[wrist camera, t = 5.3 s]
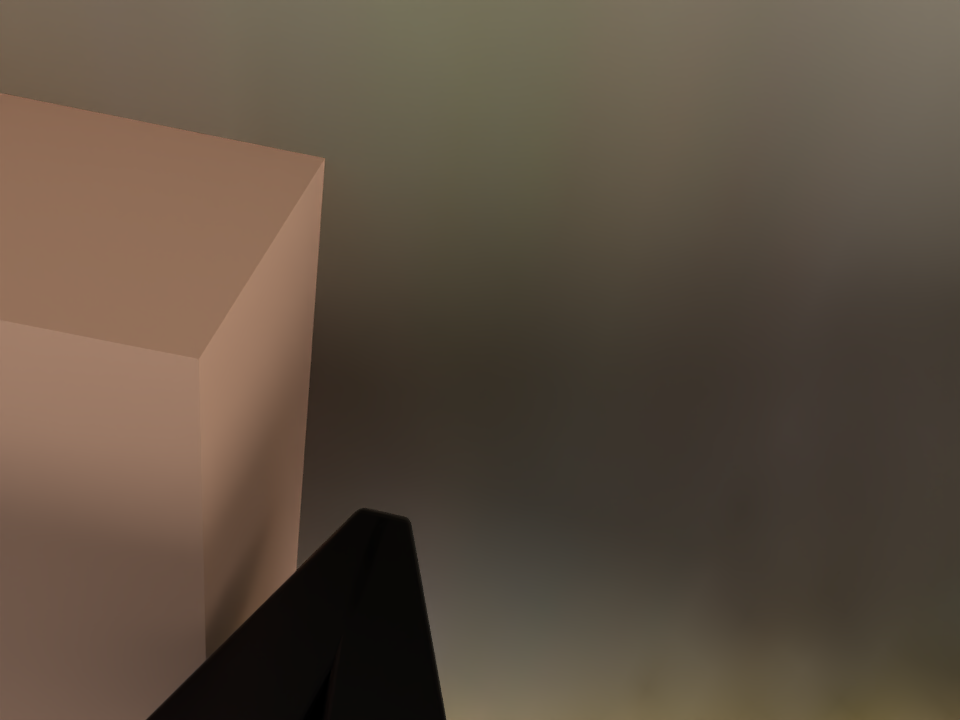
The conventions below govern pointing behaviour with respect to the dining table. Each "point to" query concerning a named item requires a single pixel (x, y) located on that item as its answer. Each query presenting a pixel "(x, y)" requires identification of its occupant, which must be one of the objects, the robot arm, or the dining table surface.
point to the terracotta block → (144, 400)
